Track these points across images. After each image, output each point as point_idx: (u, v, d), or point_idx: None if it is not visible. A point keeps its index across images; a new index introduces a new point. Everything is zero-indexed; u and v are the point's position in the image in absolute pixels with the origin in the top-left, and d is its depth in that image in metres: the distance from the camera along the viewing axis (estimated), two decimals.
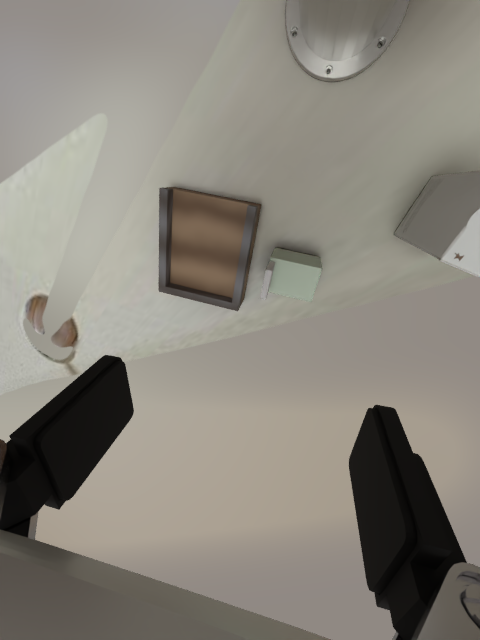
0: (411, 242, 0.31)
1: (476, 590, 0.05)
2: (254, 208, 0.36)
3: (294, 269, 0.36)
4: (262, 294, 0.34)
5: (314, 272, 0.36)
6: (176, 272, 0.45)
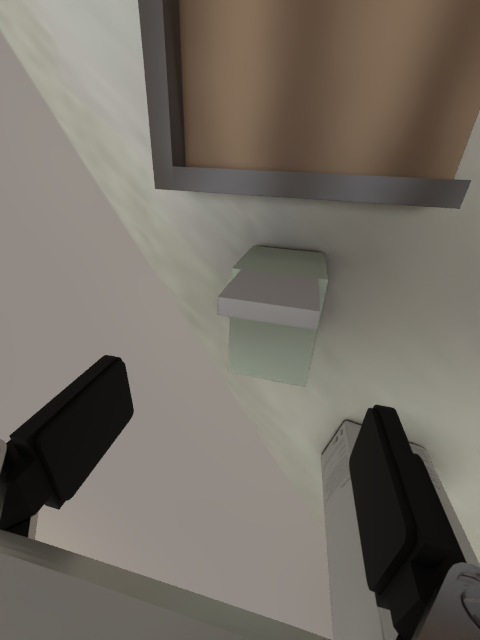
0: None
1: (476, 590, 0.05)
2: (457, 203, 0.13)
3: (299, 336, 0.15)
4: (233, 304, 0.11)
5: (296, 374, 0.16)
6: None
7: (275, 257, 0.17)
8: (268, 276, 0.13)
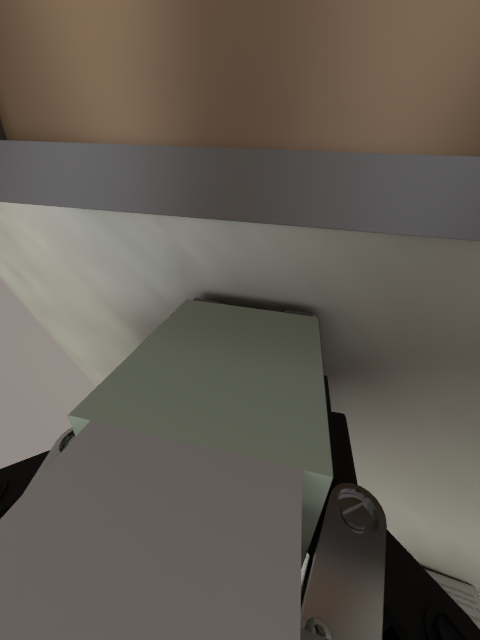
0: None
1: (348, 501, 0.06)
2: None
3: None
4: None
5: None
6: None
7: (213, 342, 0.08)
8: (145, 473, 0.04)
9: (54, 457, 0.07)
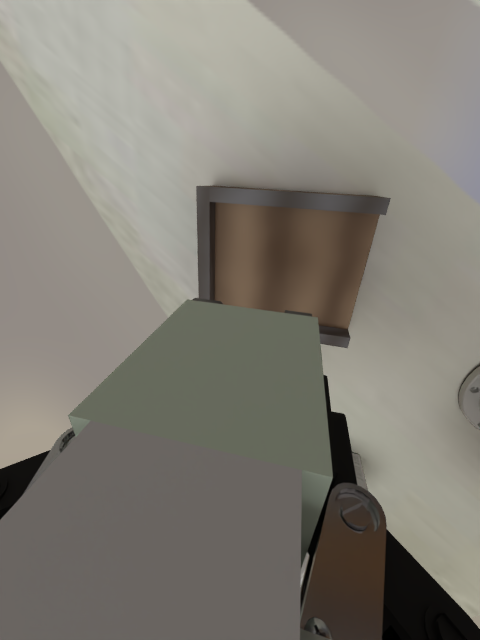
0: None
1: (348, 502, 0.06)
2: (346, 346, 0.27)
3: None
4: None
5: None
6: (236, 214, 0.25)
7: (213, 342, 0.08)
8: (145, 473, 0.04)
9: (54, 457, 0.07)
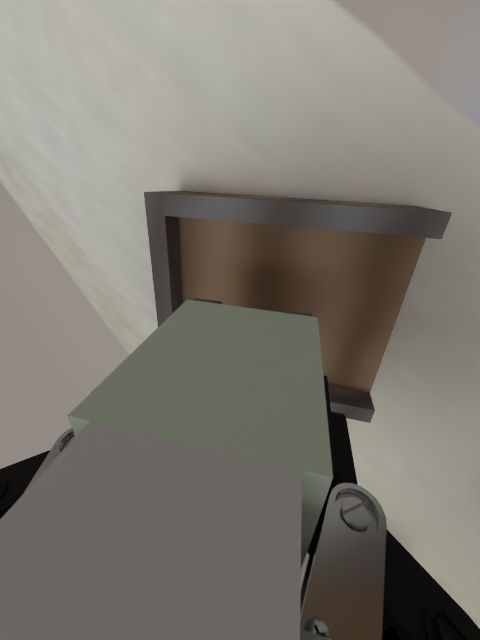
0: None
1: (348, 501, 0.06)
2: (368, 419, 0.19)
3: None
4: None
5: None
6: (209, 233, 0.17)
7: (213, 342, 0.08)
8: (145, 473, 0.04)
9: (54, 457, 0.07)
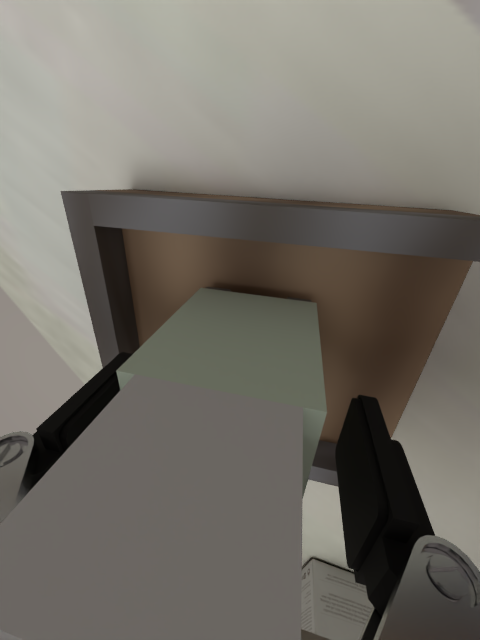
0: None
1: (439, 559, 0.05)
2: None
3: None
4: None
5: None
6: (165, 248, 0.12)
7: (227, 321, 0.09)
8: (183, 407, 0.06)
9: None
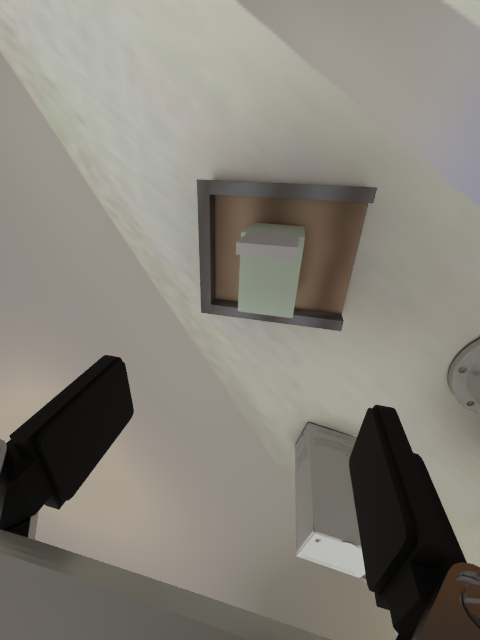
0: (311, 463, 0.36)
1: (476, 590, 0.05)
2: (339, 329, 0.29)
3: (287, 279, 0.22)
4: (245, 247, 0.18)
5: (285, 309, 0.23)
6: (235, 206, 0.27)
7: (269, 227, 0.24)
8: (265, 235, 0.20)
9: None
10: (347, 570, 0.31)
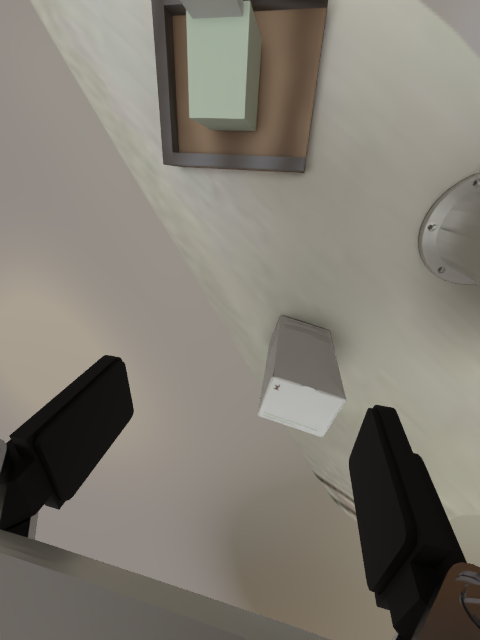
0: (279, 338, 0.35)
1: (476, 590, 0.05)
2: (302, 168, 0.28)
3: (235, 64, 0.21)
4: None
5: (236, 106, 0.22)
6: None
7: None
8: None
9: None
10: (309, 427, 0.30)
